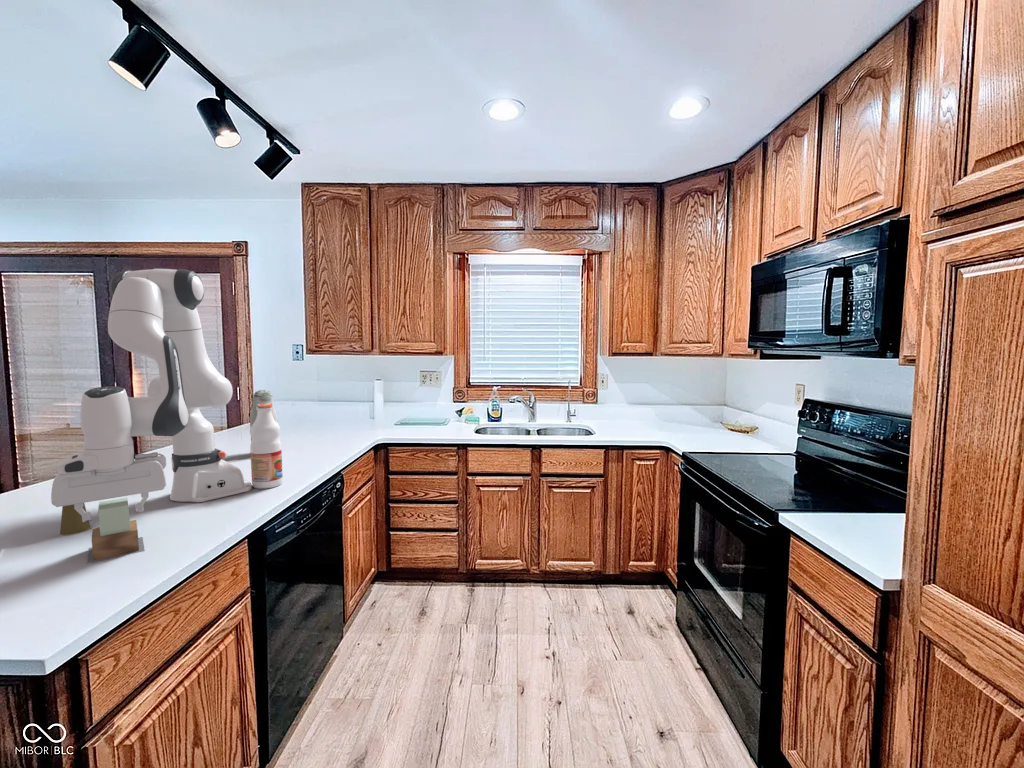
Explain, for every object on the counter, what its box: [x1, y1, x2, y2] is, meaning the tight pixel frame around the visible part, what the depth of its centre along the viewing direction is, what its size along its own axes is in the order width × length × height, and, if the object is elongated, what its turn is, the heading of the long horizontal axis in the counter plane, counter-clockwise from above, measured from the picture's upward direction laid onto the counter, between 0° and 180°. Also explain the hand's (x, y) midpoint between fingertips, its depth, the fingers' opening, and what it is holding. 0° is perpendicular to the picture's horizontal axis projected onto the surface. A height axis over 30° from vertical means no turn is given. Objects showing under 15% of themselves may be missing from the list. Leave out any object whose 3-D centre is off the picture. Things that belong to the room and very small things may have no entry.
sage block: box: [97, 497, 130, 536], centre depth 110 cm, size 5×7×6 cm
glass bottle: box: [249, 389, 278, 443], centre depth 204 cm, size 10×10×28 cm
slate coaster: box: [86, 536, 145, 565], centre depth 111 cm, size 10×10×1 cm
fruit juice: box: [249, 403, 284, 490], centre depth 161 cm, size 9×9×28 cm
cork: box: [59, 503, 92, 536], centre depth 121 cm, size 6×6×11 cm
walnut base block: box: [91, 519, 139, 561], centre depth 110 cm, size 8×8×5 cm
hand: (114, 515), depth 110 cm, fingers open, 8 cm apart
